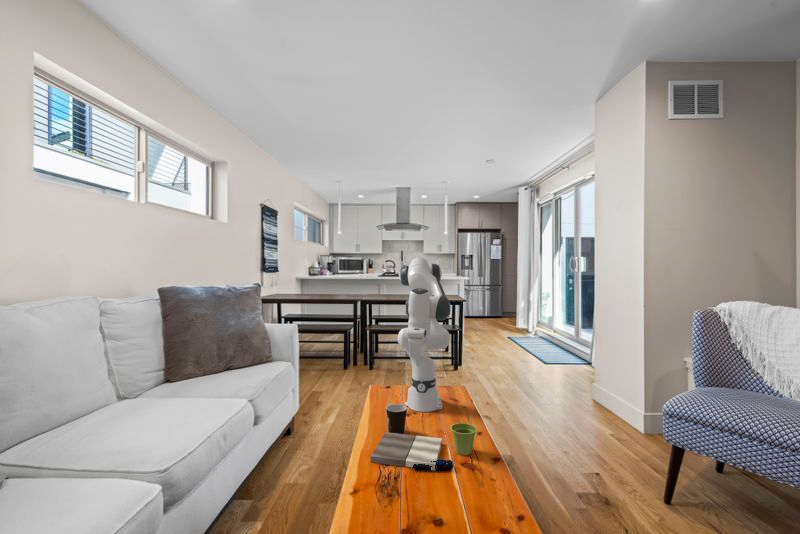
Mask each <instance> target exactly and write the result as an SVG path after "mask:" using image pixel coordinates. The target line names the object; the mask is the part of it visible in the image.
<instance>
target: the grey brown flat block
mask: <svg viewBox="0 0 800 534" xmlns="http://www.w3.org/2000/svg"><path fill="white" fill-rule="evenodd" d="M415 438H416V435H414V434H406V433H404V434H398V433H389V431H388V432H387V431H386V432H385V433H384V434H383V436H382V437H381V438H380V440H379V442H378V444H377V445H376V447H375V449H374V450H373V451H372V453H371V455H370V458H369V459H370V461H369V462H370V463H375V464H381V465H391V466H397V467H406V459H407V456H408V454H409V452H410V449H411V447H412V445H413V442H414V440H415Z"/></svg>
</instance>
